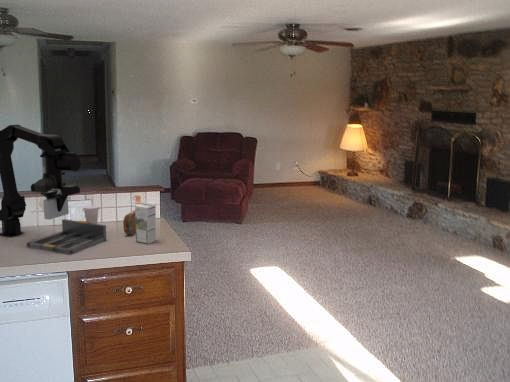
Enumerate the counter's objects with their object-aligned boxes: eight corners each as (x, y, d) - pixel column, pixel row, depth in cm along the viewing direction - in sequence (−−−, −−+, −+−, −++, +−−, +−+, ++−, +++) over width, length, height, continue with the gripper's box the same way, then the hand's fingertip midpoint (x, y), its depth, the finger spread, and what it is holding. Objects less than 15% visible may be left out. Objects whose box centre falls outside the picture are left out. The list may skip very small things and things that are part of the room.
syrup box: (156, 240, 212) (156, 204, 209) (147, 244, 207) (147, 206, 204) (144, 238, 214) (143, 202, 211) (135, 242, 209) (134, 205, 206)
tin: (129, 237, 216) (129, 216, 214) (122, 236, 216) (121, 215, 215) (144, 227, 230) (144, 208, 228) (137, 227, 231) (137, 207, 229)
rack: (26, 246, 200) (25, 230, 199) (65, 233, 218) (64, 218, 217) (70, 254, 192) (69, 237, 191) (106, 240, 210) (105, 224, 209)
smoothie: (97, 231, 222) (96, 198, 219) (81, 231, 222) (80, 197, 219) (102, 227, 228) (101, 194, 225) (86, 227, 228) (85, 194, 225)
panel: (44, 218, 201) (43, 200, 199) (63, 213, 210) (62, 195, 208) (49, 219, 200) (48, 200, 198) (68, 213, 209) (67, 195, 208)
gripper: (17, 171, 198) (20, 213, 201) (58, 174, 191) (60, 218, 194) (40, 167, 208) (43, 207, 211) (79, 170, 201) (82, 211, 204)
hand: (56, 211), depth 204 cm, fingers closed on panel, 2 cm apart
